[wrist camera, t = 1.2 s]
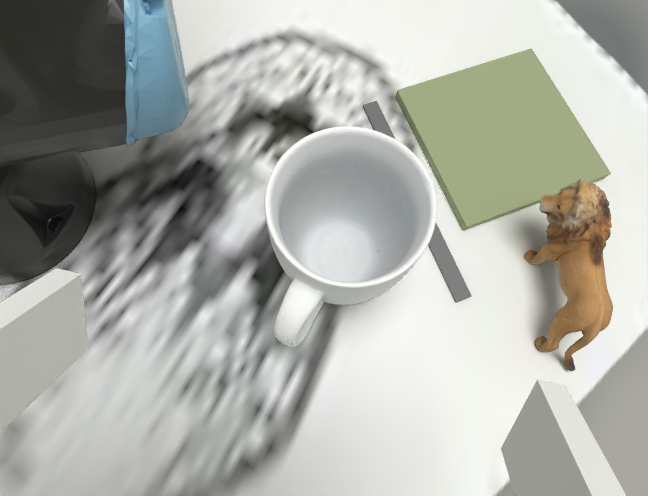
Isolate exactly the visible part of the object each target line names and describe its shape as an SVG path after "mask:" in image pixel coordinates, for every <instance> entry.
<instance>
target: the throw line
mask: <svg viewBox="0 0 648 496" xmlns="http://www.w3.org/2000/svg"><path fill="white" fill-rule="evenodd" d="M363 108H364V110H365V112H366V114H367V116H368V118H369V120H370V123H371V125H372V127H373V129H374V131H378V132H381V133H383V134H385V135H388V136H390V137H392V138H394V136H393V134H392V131H391V129H390V127H389V125H388V123H387V121H386V119H385V117H384V115H383V113H382V111H381V109H380V107H379V105H378V103H377V101H374V102H371V103H368V104H365V105H363ZM394 139H395V138H394ZM428 245H429V247H430V249H431V251H432V254H433V256H434V258H435V260H436V262H437V264H438V266H439V268H440V270H441V273H442V275H443V277H444V279H445V281H446V283H447V285H448V287H449V289H450V292H451V294H452V296H453V298H454V300H455V302H458V301H461V300H463V299H466V298H468V297H471V294H470V292H469V290H468V288H467V286H466V284H465V282H464V279H463V277H462V275H461V273H460V271H459V269H458V267H457V265H456V263H455V261H454V259H453V257H452V255H451V253H450V251H449V249H448V247H447V245H446V242H445V240H444V238H443V236H442V234H441V232H440V230H439V228H438V226H437V224H436V223H435V228H434V231H433V234H432V237H431V240H430V242H429V244H428Z"/></svg>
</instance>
